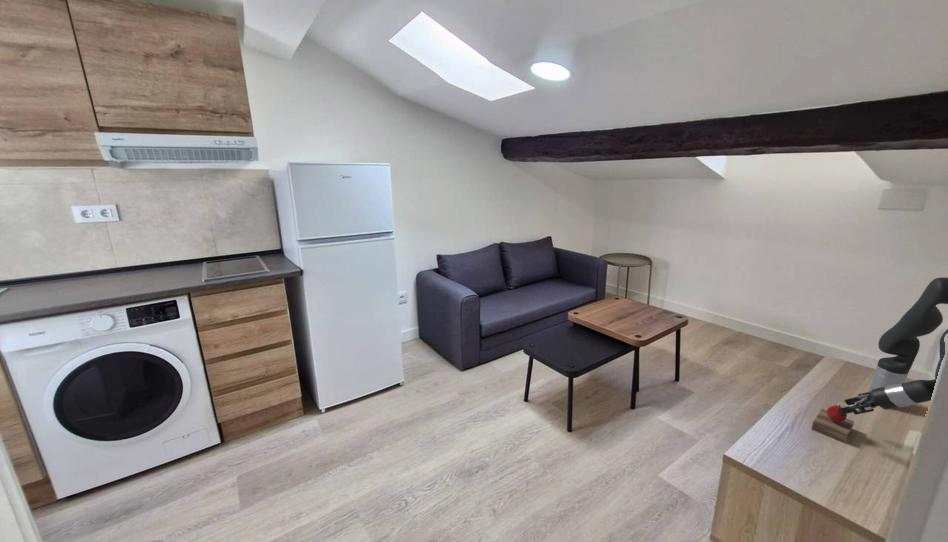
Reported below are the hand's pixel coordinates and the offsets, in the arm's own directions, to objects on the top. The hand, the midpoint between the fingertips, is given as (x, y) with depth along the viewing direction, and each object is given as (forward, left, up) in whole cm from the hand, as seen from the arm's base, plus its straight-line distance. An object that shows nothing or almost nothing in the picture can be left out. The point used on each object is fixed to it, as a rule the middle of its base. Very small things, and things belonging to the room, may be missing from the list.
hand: (843, 406), depth 148 cm
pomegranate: (0, -1, -8) cm, 8 cm away
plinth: (0, -1, -12) cm, 12 cm away
